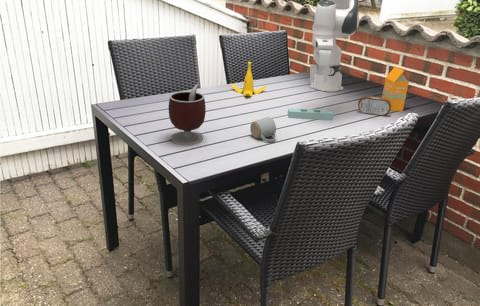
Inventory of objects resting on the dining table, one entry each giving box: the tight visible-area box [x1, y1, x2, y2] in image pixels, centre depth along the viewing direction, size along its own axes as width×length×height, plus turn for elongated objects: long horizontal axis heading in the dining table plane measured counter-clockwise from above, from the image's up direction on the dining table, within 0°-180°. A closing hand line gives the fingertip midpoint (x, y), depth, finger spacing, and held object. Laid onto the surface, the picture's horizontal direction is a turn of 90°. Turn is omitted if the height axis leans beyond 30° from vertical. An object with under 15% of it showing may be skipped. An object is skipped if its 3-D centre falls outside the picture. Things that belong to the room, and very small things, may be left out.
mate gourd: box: [168, 83, 207, 146], centre depth 160 cm, size 16×14×20 cm
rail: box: [287, 107, 334, 121], centre depth 192 cm, size 5×20×3 cm, turn 88°
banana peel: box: [230, 61, 267, 97], centre depth 220 cm, size 16×19×17 cm
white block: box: [309, 63, 330, 83], centre depth 184 cm, size 8×2×8 cm, turn 89°
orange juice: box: [381, 66, 410, 112], centre depth 206 cm, size 8×9×20 cm
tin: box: [357, 95, 391, 117], centre depth 198 cm, size 15×3×8 cm, turn 71°
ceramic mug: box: [249, 116, 277, 143], centre depth 166 cm, size 11×8×8 cm
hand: (319, 73), depth 184 cm, fingers closed on white block, 2 cm apart
